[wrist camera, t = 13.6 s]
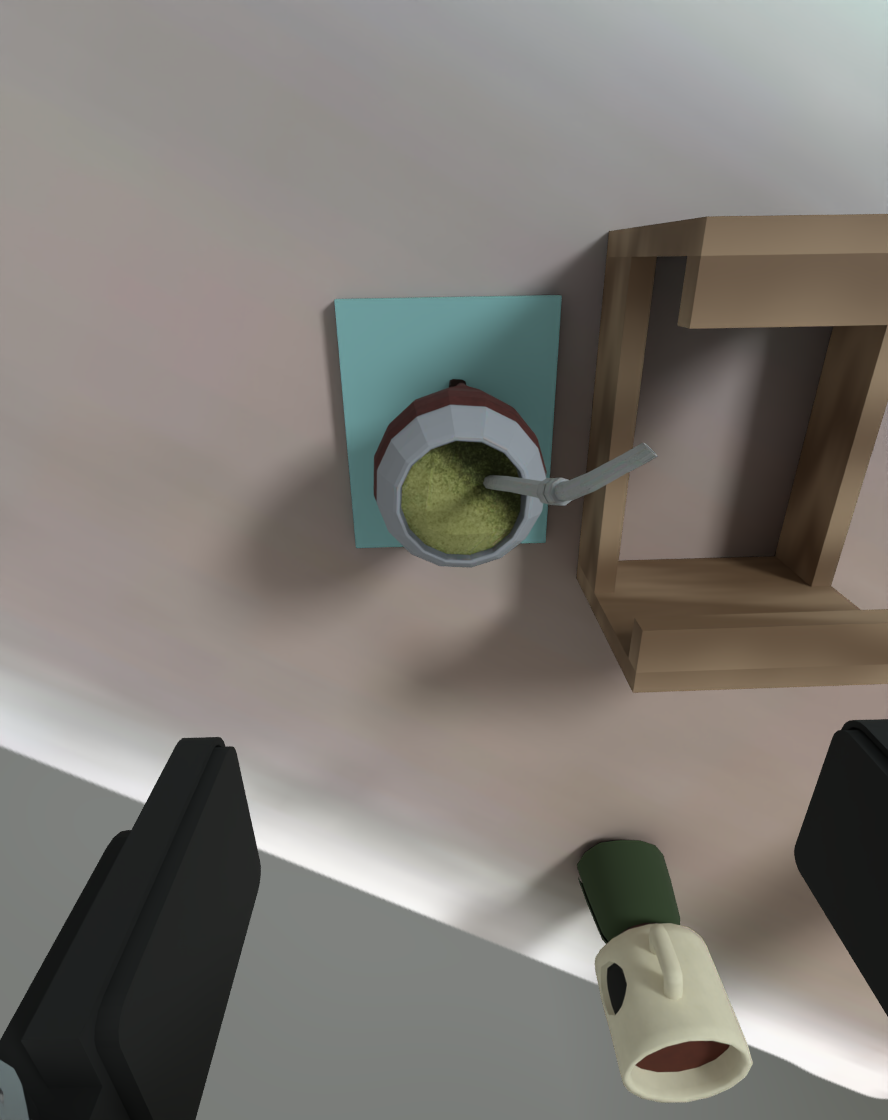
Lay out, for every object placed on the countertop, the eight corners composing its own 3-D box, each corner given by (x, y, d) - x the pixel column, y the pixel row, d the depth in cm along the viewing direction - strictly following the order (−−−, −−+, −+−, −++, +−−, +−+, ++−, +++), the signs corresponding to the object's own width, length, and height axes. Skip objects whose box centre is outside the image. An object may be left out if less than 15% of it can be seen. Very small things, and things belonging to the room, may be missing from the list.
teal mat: (543, 538, 33) (545, 542, 32) (357, 543, 32) (356, 548, 32) (559, 295, 27) (561, 295, 27) (335, 298, 27) (334, 299, 26)
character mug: (564, 813, 42) (618, 1026, 30) (666, 799, 42) (761, 1008, 30) (573, 911, 47) (624, 1127, 35) (665, 899, 47) (747, 1112, 35)
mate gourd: (379, 507, 31) (348, 699, 17) (382, 345, 27) (346, 427, 14) (524, 514, 31) (602, 706, 18) (545, 355, 28) (662, 445, 14)
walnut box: (788, 571, 34) (919, 682, 25) (576, 578, 34) (632, 692, 25) (880, 227, 27) (1115, 210, 18) (608, 231, 26) (707, 216, 17)
